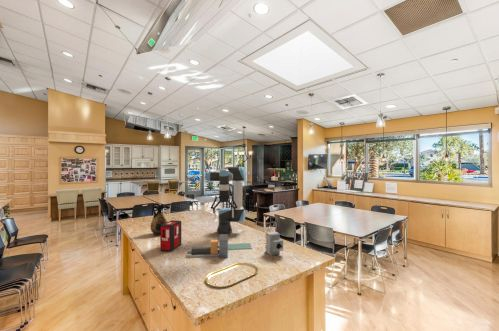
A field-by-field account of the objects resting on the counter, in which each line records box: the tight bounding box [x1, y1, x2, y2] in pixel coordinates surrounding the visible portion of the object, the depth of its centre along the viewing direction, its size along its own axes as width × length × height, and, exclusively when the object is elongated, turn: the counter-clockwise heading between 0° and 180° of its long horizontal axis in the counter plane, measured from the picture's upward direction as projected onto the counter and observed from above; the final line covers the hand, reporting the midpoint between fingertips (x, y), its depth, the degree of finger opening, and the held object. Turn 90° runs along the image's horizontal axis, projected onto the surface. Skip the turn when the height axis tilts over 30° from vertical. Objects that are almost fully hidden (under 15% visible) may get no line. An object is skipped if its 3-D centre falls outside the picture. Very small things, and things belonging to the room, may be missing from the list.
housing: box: [185, 234, 229, 259], centre depth 170 cm, size 15×30×12 cm, turn 96°
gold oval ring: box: [205, 262, 259, 289], centre depth 138 cm, size 19×35×2 cm, turn 133°
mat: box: [228, 242, 253, 251], centre depth 186 cm, size 12×20×1 cm, turn 96°
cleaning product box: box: [159, 220, 182, 253], centre depth 183 cm, size 16×9×20 cm, turn 170°
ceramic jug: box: [149, 202, 168, 236], centre depth 219 cm, size 17×15×30 cm
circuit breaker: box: [264, 230, 284, 256], centre depth 171 cm, size 8×14×15 cm, turn 27°
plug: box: [190, 239, 219, 255], centre depth 170 cm, size 5×20×10 cm, turn 96°
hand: (224, 217), depth 175 cm, fingers open, 13 cm apart
